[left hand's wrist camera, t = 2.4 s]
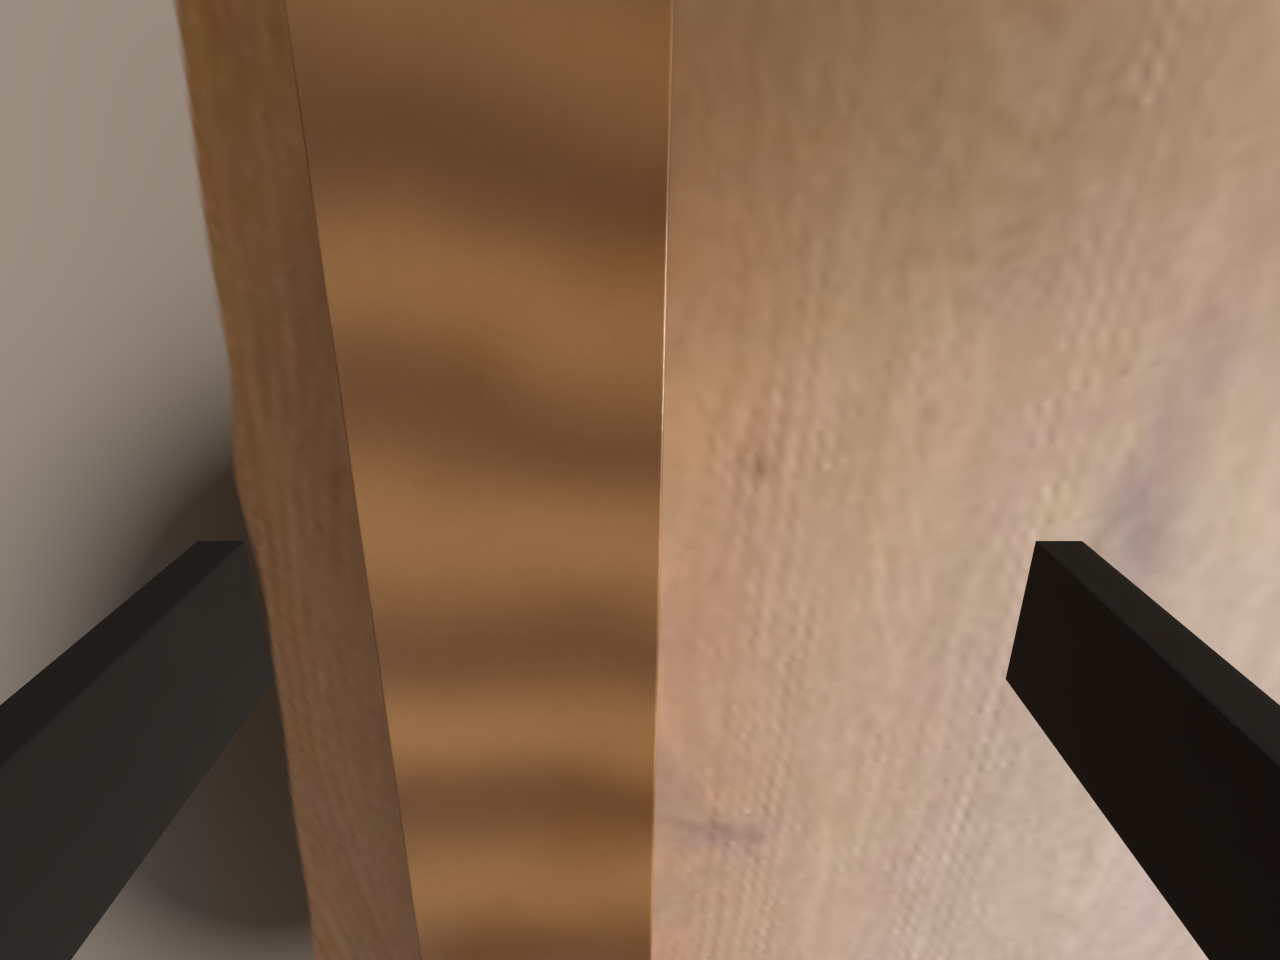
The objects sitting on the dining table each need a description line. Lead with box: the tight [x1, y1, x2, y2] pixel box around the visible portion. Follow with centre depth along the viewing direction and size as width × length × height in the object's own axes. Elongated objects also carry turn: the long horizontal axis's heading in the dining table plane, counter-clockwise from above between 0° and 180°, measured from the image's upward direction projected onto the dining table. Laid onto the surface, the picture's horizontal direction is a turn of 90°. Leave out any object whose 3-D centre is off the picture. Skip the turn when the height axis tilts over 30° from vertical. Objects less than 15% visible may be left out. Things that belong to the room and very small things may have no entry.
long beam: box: [284, 0, 674, 960], centre depth 33 cm, size 64×9×8 cm, turn 179°
